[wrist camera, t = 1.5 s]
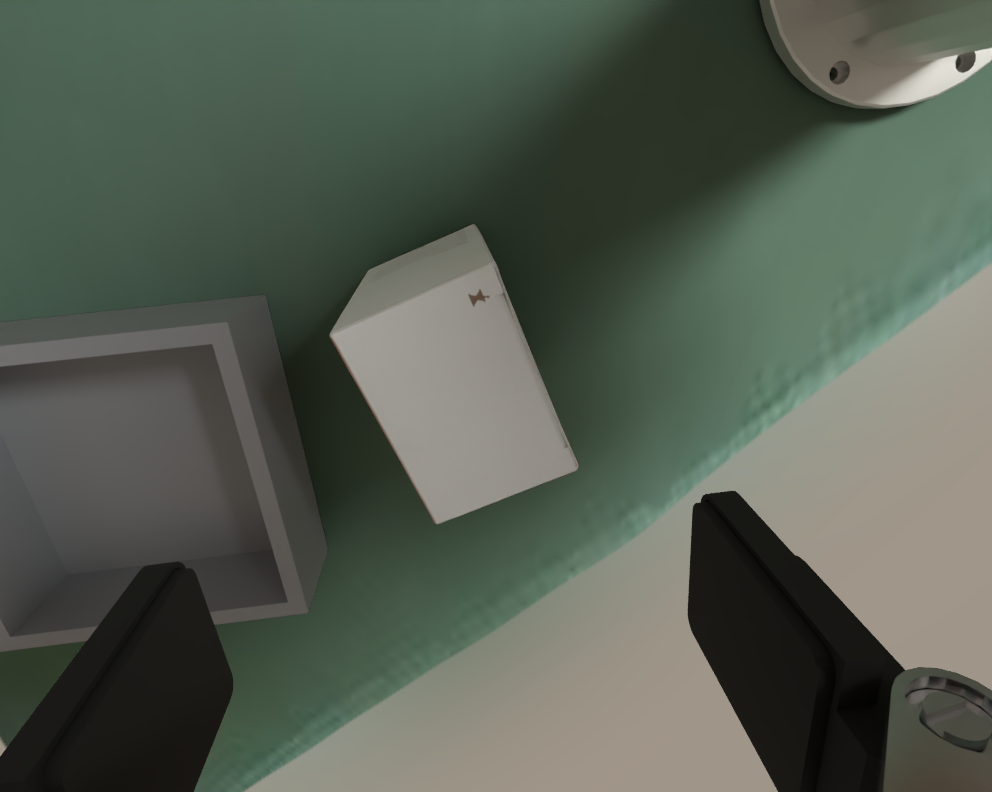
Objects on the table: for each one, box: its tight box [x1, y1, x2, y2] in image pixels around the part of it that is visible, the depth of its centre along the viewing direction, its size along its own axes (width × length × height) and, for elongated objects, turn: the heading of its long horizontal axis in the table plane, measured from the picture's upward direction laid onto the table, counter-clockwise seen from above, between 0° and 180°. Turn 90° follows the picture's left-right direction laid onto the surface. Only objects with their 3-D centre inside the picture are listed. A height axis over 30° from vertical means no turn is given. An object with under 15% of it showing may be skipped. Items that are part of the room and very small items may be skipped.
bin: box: [0, 295, 328, 652], centre depth 27 cm, size 15×15×5 cm
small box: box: [329, 224, 579, 524], centre depth 23 cm, size 8×6×10 cm
